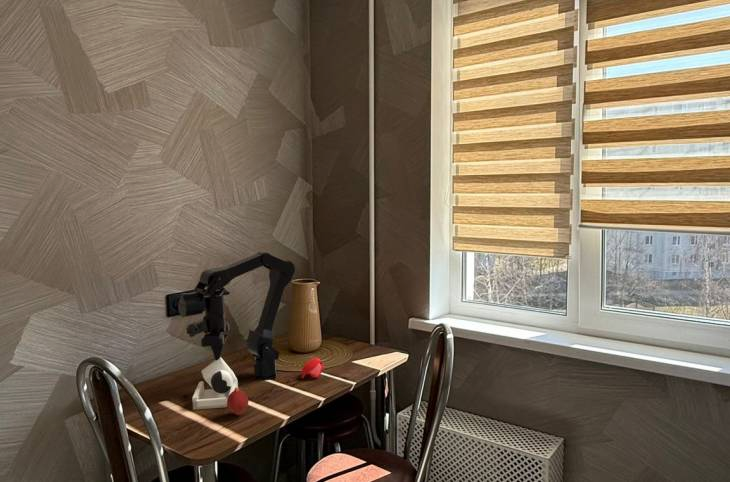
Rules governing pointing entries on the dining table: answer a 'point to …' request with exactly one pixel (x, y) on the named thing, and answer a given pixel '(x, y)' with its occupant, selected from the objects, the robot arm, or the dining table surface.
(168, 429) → the dining table surface
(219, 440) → the dining table surface
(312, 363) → the cap
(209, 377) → the medicine bottle
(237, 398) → the red rounded lump
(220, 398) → the cradle
